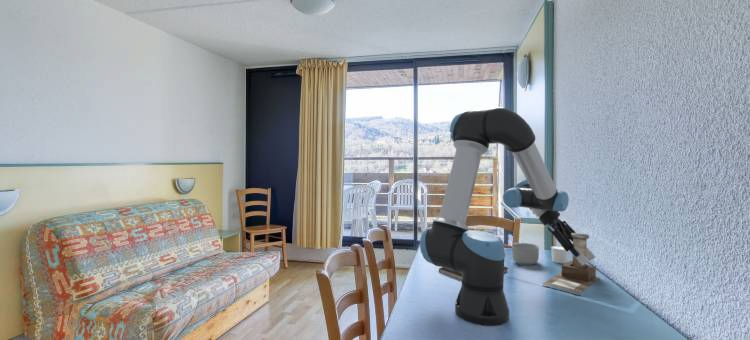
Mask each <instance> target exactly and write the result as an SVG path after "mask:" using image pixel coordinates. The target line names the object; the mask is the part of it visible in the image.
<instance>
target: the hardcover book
mask: <svg viewBox="0 0 750 340" xmlns="http://www.w3.org/2000/svg"><path fill="white" fill-rule="evenodd" d="M508 269H510V268H509V267H507V266H504V274H505V273H507V272H508ZM438 272H439V273H441V274H445V275H447V276H450V277H452V278H455V279H458V280H460V281H462V273H459V272H456V271H453V270H450V269H446V268H443V267H439V268H438Z"/></svg>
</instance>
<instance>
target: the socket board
mask: <svg viewBox="0 0 750 340" xmlns="http://www.w3.org/2000/svg"><path fill="white" fill-rule="evenodd" d="M596 272H597V266H596V265H593V264H587V263H586V268H585V269H582V268H578V267H573V266H572V260H569V261H567V263H563V264H562V265H561V272H559V273H558V274H556V275H555V276H552V277H551V278H550V279H548V280H546V281H544V282H543V283H542V284H543V285H542V287H544V288H548V289H552V290H554V291H559V292H562V293H566V294H570V295H574V296H576V297H581V296H582V295H581V293H582V292H584V291H585V290H587V289H588V288H589V287H590V286H591V285H593V284H594V283H595V282H597V281H598V280H600V279H601V277H600V276H597V275H596ZM576 293H577V294H576Z"/></svg>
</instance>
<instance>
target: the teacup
mask: <svg viewBox="0 0 750 340" xmlns="http://www.w3.org/2000/svg"><path fill="white" fill-rule="evenodd" d="M539 252H540V246H538V245H536V244H533V243H529V242H528V243H527V242H526V243H525V242H519V243H518V242H514V243H512V245H511V253H512V254H511V256H512V260H513V261H514V262H515V263H516V264H518V265H520V266H523V267H524V266H525V265H526V266H529V265H530V266H531V265H532V266H533V265H535V264H537V263H538V261H539V257H540V253H539Z"/></svg>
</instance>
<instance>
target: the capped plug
mask: <svg viewBox="0 0 750 340" xmlns="http://www.w3.org/2000/svg"><path fill="white" fill-rule="evenodd" d="M571 237H573V242H572V244H573V245H574V247H575V246H576V247H577V248H578V249H579V250H580V252H581V253H582V254H583V255H584V256H585V257H586V247H587V245H588V243H587V240H588V239H590V235H589V234H587V233H582V232H576V233H571ZM571 259H572V260H571V261H572V266H573V267H578V268H582V269H585V268H586V264H587V263H586V264H584V265H583V266H582V265H581V263H580V262H579V261H578V260H577V259H576V258H575V257H574V255H573V254H572V258H571Z"/></svg>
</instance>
